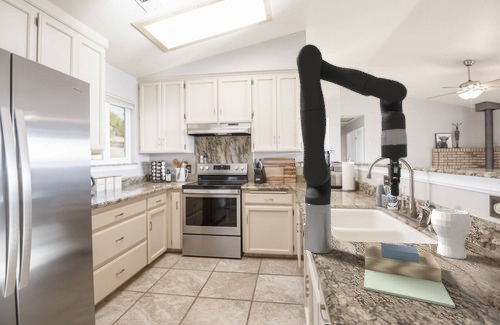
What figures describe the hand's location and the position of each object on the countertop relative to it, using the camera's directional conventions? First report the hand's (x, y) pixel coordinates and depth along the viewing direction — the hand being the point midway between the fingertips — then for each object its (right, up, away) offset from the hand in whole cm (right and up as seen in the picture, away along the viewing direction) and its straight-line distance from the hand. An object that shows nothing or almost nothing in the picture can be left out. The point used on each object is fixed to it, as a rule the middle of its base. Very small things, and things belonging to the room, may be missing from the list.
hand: (394, 195), depth 79 cm
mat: (-9, -21, -19) cm, 30 cm away
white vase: (+20, -21, +2) cm, 29 cm away
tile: (-4, -16, -9) cm, 19 cm away
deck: (-4, -21, -8) cm, 23 cm away
